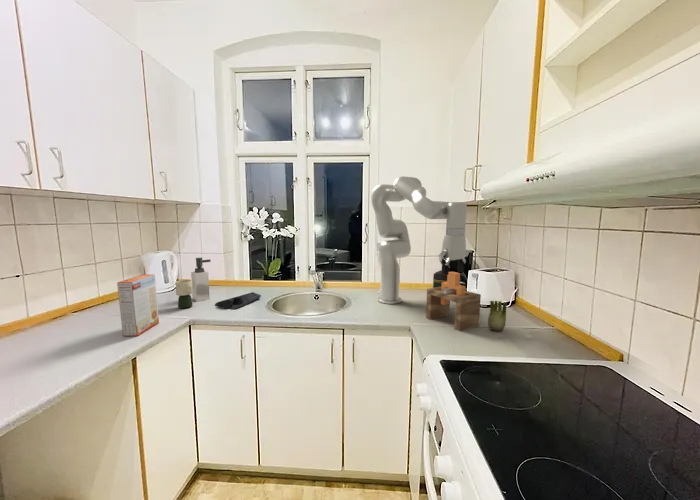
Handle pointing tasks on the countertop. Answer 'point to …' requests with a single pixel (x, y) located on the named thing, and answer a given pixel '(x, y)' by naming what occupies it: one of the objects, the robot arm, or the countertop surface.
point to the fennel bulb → (497, 316)
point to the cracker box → (138, 304)
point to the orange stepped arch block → (453, 286)
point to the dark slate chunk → (238, 301)
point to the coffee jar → (439, 279)
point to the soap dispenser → (200, 282)
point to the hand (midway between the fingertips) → (452, 273)
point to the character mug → (184, 293)
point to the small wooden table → (464, 310)
